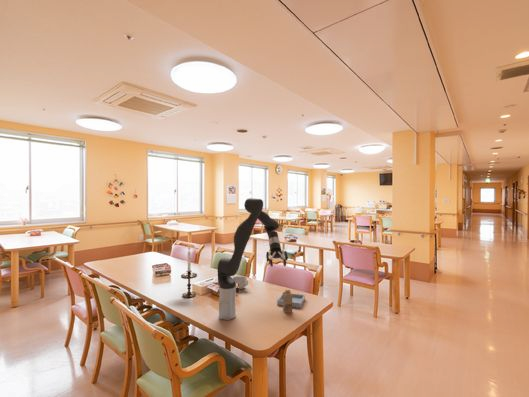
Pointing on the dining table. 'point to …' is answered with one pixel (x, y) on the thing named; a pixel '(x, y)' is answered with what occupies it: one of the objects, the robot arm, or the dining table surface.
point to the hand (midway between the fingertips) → (278, 265)
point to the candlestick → (189, 276)
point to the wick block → (287, 301)
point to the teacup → (241, 281)
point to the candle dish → (293, 300)
